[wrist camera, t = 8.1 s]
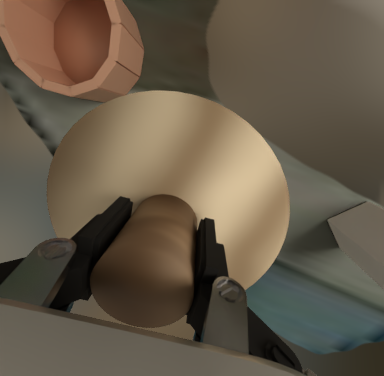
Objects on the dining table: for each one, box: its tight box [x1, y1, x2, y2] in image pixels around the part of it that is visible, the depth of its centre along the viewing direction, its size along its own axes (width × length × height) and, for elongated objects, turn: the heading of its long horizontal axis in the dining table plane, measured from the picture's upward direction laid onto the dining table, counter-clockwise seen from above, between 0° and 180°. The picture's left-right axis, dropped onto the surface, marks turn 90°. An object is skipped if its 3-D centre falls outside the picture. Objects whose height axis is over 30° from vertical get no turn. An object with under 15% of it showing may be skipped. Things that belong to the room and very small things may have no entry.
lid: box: [47, 91, 290, 328], centre depth 10 cm, size 15×15×6 cm
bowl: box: [0, 0, 144, 102], centre depth 23 cm, size 13×13×8 cm
